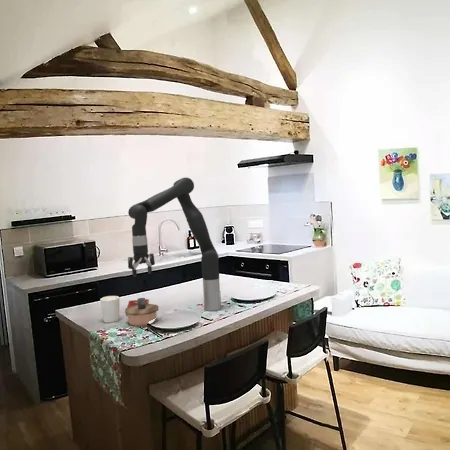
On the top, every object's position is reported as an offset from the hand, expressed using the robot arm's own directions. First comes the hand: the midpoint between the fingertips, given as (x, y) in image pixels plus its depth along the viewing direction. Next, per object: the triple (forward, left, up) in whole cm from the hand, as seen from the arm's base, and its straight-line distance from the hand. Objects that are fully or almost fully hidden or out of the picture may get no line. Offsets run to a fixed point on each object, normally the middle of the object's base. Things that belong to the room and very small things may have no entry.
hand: (142, 275), depth 230 cm
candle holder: (+19, -3, -25) cm, 31 cm away
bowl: (+1, +1, -24) cm, 24 cm away
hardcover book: (+10, -21, -25) cm, 34 cm away
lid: (+1, +1, -18) cm, 18 cm away
